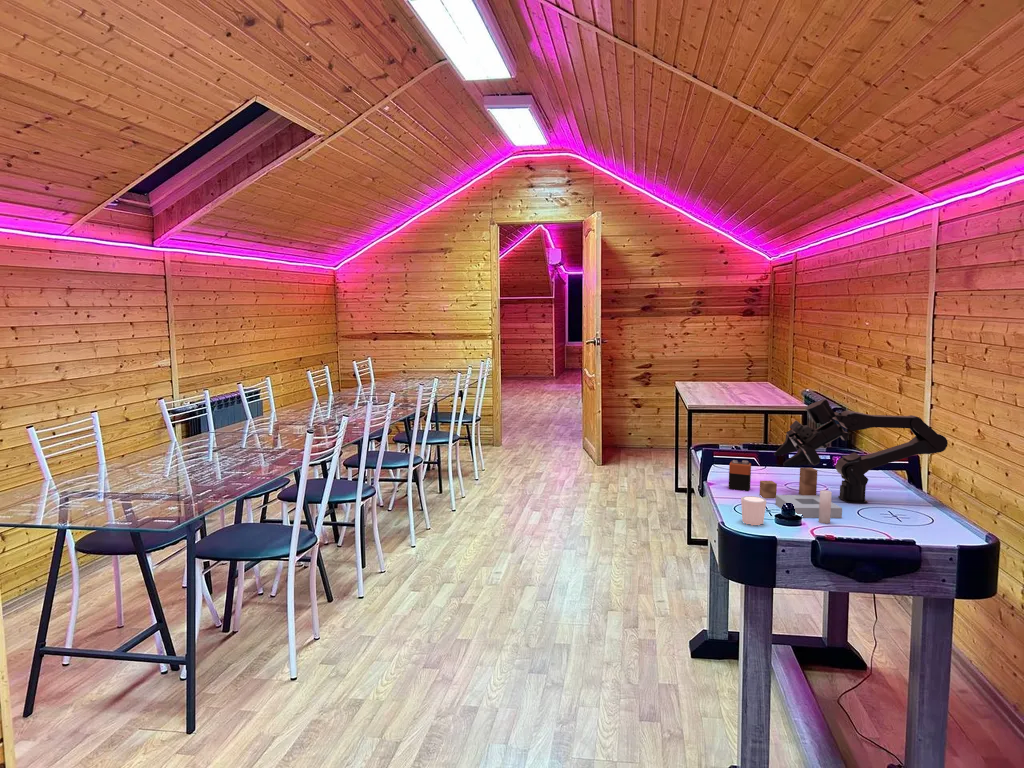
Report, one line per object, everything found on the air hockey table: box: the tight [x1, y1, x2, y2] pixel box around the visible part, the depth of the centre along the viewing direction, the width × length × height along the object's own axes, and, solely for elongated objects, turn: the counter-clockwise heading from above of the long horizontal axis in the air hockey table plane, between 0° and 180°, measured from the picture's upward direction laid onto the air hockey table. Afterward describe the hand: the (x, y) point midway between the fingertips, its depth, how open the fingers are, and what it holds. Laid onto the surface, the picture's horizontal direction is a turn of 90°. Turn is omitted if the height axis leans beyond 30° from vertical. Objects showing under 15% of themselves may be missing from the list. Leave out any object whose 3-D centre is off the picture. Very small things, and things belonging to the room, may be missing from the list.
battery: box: [728, 459, 752, 492], centre depth 221 cm, size 4×7×10 cm, turn 64°
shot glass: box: [740, 495, 767, 526], centre depth 184 cm, size 7×7×7 cm
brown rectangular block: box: [798, 467, 818, 495], centre depth 213 cm, size 4×4×9 cm
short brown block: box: [759, 480, 778, 499], centre depth 212 cm, size 4×4×5 cm
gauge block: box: [775, 489, 843, 525], centre depth 193 cm, size 14×20×9 cm
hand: (779, 459), depth 210 cm, fingers open, 9 cm apart
